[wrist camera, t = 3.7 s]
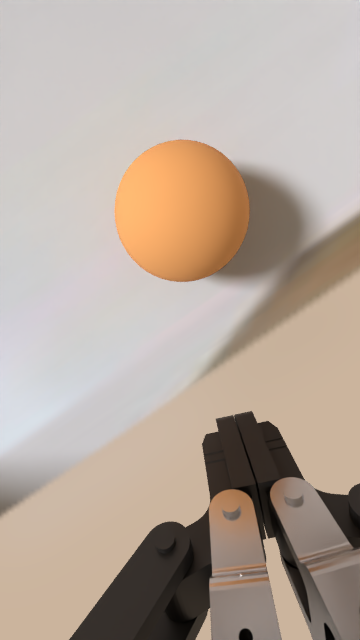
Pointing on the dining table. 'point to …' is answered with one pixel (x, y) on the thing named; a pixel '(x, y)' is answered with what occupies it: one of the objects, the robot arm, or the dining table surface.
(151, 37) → the dining table surface
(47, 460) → the dining table surface
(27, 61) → the dining table surface
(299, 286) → the dining table surface
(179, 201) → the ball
